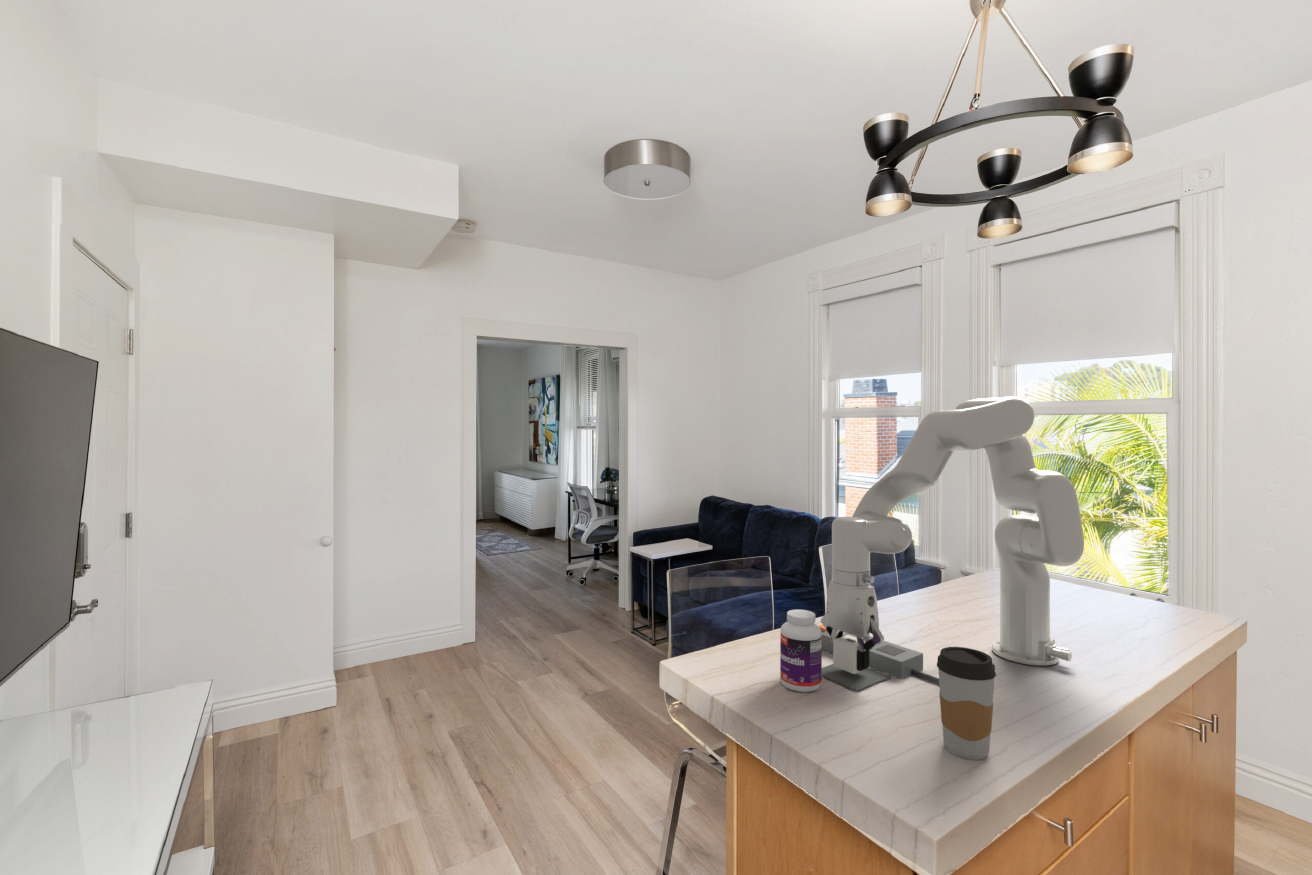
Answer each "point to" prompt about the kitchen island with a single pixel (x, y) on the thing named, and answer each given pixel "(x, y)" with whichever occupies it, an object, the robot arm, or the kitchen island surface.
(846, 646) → the block
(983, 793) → the kitchen island surface
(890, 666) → the power strip
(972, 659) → the coffee cup
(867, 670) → the mat
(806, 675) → the pill bottle
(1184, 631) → the kitchen island surface
